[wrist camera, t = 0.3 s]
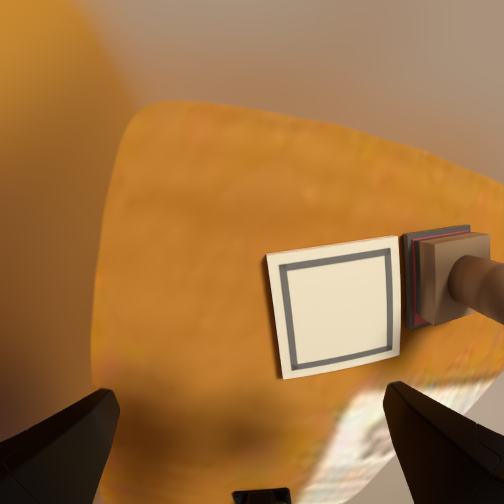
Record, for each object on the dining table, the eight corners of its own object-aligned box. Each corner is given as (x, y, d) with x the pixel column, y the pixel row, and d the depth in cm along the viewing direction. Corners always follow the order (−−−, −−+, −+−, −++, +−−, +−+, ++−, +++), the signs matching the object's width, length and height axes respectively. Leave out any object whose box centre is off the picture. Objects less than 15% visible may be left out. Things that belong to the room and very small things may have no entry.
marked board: (394, 350, 22) (399, 355, 21) (282, 373, 23) (283, 380, 22) (392, 235, 21) (398, 236, 20) (266, 253, 22) (266, 255, 21)
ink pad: (464, 309, 22) (470, 312, 21) (405, 327, 22) (410, 331, 21) (464, 224, 21) (471, 225, 20) (402, 233, 21) (408, 234, 20)
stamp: (468, 298, 21) (553, 339, 10) (415, 313, 21) (501, 372, 10) (467, 231, 20) (565, 245, 9) (414, 240, 20) (516, 262, 9)
